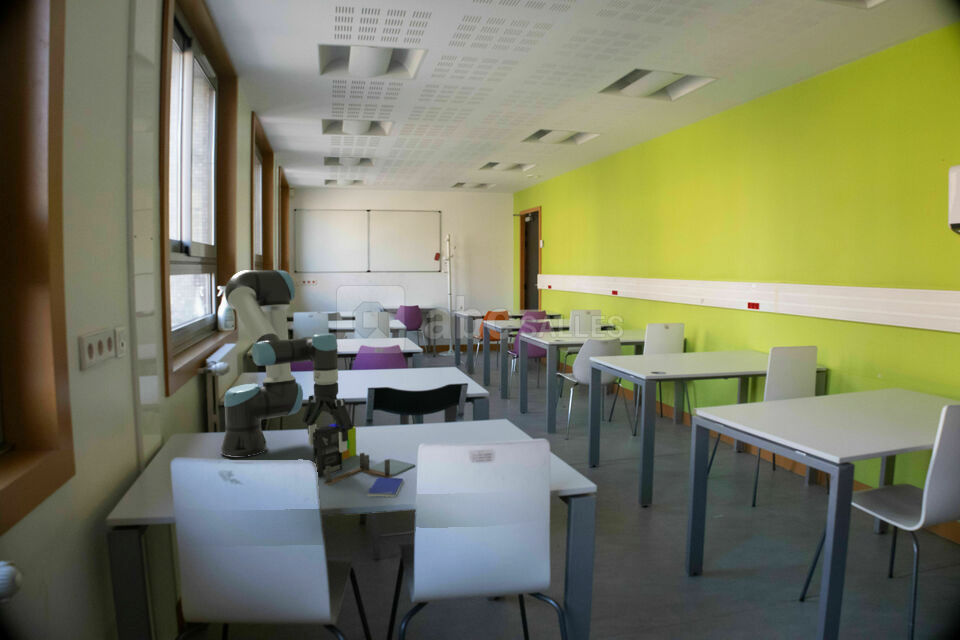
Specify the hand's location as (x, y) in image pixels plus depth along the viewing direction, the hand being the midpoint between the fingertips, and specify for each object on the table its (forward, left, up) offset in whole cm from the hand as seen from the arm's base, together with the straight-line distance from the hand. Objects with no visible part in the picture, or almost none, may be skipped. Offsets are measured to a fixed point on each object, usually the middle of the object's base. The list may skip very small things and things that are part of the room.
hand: (327, 447), depth 185 cm
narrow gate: (+15, +7, -8) cm, 18 cm away
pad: (+15, +14, -8) cm, 22 cm away
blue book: (+25, -1, -9) cm, 26 cm away
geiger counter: (0, 0, -8) cm, 8 cm away
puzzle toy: (-9, +12, -8) cm, 17 cm away
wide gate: (+8, 0, -8) cm, 11 cm away
